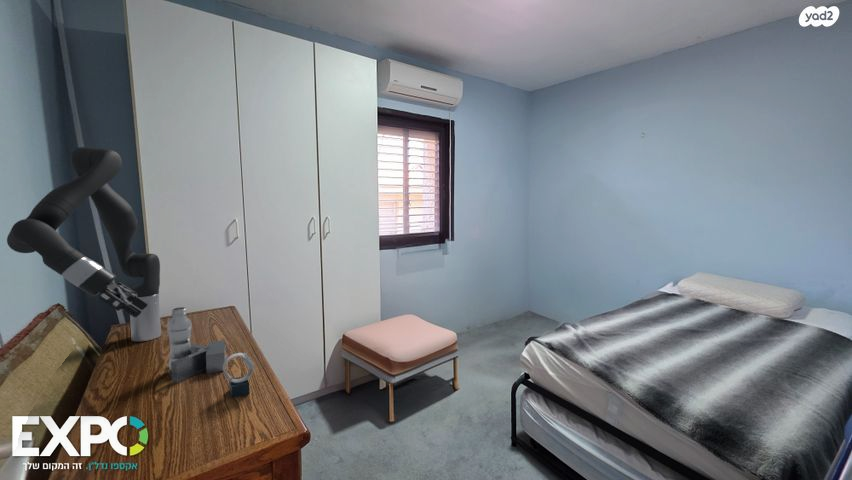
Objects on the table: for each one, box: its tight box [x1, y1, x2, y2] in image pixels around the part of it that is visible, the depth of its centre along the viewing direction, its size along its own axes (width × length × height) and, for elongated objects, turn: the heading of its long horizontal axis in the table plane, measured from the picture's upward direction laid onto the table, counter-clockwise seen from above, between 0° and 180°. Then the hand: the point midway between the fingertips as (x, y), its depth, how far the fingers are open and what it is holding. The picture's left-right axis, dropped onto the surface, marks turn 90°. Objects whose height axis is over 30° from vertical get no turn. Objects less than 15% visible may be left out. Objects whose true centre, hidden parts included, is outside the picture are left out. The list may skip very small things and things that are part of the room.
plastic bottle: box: [166, 306, 193, 372], centre depth 114 cm, size 6×7×20 cm
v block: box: [170, 339, 227, 384], centre depth 117 cm, size 18×14×6 cm
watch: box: [222, 352, 256, 399], centre depth 102 cm, size 6×8×11 cm
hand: (142, 310), depth 109 cm, fingers open, 8 cm apart
